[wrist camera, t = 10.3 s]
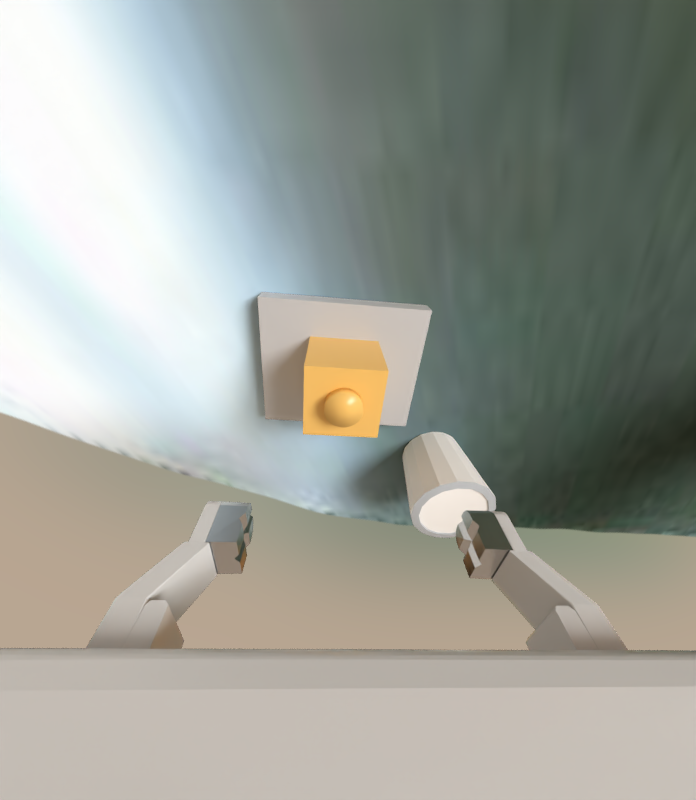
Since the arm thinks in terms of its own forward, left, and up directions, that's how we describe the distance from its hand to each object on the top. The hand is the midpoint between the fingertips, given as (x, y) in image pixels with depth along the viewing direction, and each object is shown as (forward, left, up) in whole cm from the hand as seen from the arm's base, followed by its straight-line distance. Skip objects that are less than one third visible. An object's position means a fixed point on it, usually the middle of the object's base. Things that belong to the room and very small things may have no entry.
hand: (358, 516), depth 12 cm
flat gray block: (0, 0, -15) cm, 15 cm away
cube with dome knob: (0, 0, -14) cm, 14 cm away
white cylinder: (-9, +10, -15) cm, 20 cm away
